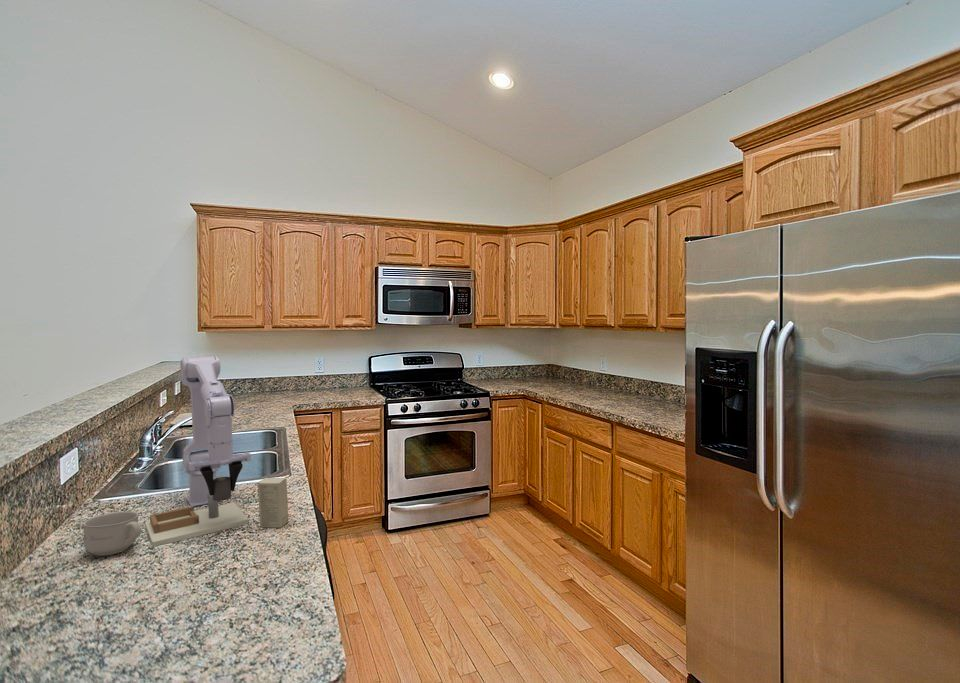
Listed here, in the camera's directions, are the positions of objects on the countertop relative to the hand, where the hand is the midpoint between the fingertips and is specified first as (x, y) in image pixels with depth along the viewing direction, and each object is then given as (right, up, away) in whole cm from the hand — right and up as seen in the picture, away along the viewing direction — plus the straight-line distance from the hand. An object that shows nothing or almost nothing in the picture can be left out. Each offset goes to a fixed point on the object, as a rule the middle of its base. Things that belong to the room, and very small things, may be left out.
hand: (221, 492), depth 134 cm
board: (-8, -9, +2) cm, 12 cm away
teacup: (-19, -10, -13) cm, 25 cm away
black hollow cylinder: (0, -2, 0) cm, 2 cm away
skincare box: (+13, -10, +2) cm, 16 cm away
